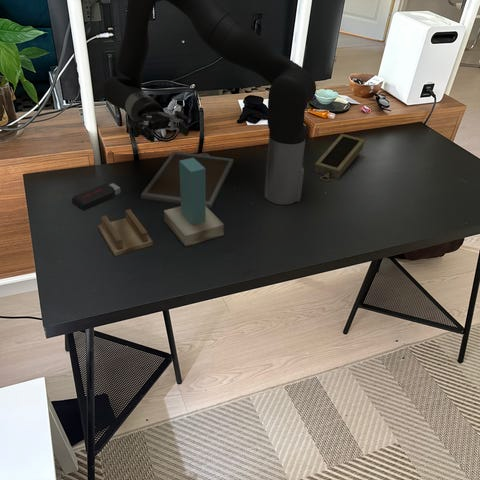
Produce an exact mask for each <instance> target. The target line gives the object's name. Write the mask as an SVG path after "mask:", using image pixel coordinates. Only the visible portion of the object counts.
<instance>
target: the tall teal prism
mask: <svg viewBox="0 0 480 480" xmlns="http://www.w3.org/2000/svg"><path fill="white" fill-rule="evenodd" d="M179 167H180V193H181V204H180V206H181V213H182V215H183V216H184V217H185V218H186V219H187V220H188V221H189V222H190V224H191V225H192V226H193V225H196V224H200V223H203V222H206V181H205V168H204V167H203V166H202V165H201V164H200V163H199V162H198V161H196V160H195V159H194V158H189V159H185V160H180V161H179Z"/></svg>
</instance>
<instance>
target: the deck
mask: <svg viewBox="0 0 480 480" xmlns="http://www.w3.org/2000/svg"><path fill="white" fill-rule="evenodd" d="M163 216H164V217H163V219H164V220H163V221H164V222H165V223H166V225H167V226H168V227H169V229H170V230H171V231H172V232H173V233H174V235H176V237H177V238H178V239H179V240H180V242H181V243H182V244H183V246H184V247H188V246H192V245H196V244H198V243H202V242H206V241H207V240H208V241H209V240H212V239H215V238H218V237H221V236H224V233H225V224H224V223H223V222H222V220H220V219H219V218H218V217H217V215H215V214H214V213H213V212H212V211H211V210H210V208H207V207H206V222H203V223H200V224H196V225H193V226H192V225H191V224H190V222H189V221H188V220H187V219H186V218H185V217H184V216H183V215H182V213H181V205H180V206H176V207H172V208H168V209H165V210H163Z"/></svg>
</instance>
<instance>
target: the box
mask: <svg viewBox="0 0 480 480" xmlns="http://www.w3.org/2000/svg"><path fill="white" fill-rule="evenodd" d="M364 143H365V139H363V138H360V137H356V136H355V137H354V136H352V135H347V134H344V133H340V135H339V136H338V137H337V138H336V140H335V141H333V143H332V144H331V145H330V146H329V147H328V148H327V149H326V151H325V152H324V153H323V154H322V155H321V157H319V159H318V160H317V161H316V162H315V163H314V166H315V167H314V168H315V169H314V170H315V172H314V173H317V174H321V175H322V176H320V177H319V179H320V181H321V182H324V183H329V181H330V179H331V178H332V179H333V178H334V179H337V180H339V179H340V178H341V176H342V175H343V173H344V172H345V171H346V170H347V169H348V167H350V165H351V163H353V161H354V160H355V159H356V158H357V156H359V154H360V152H361V151H362V150H363V148H364V145H365V144H364Z"/></svg>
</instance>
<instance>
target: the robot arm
mask: <svg viewBox="0 0 480 480" xmlns="http://www.w3.org/2000/svg"><path fill="white" fill-rule="evenodd" d="M162 1H165V2H168V3H169V4H171V5H173V6H174V7H175V8H177V9H178V10H179V11H181V12H182V13H183V14H184V15H186V17H187V18H188V19H189V21H190V22H191V24H192V26H193V28H194V30H195V31H196V34H197V35H198V37H199V38H200V40H202V42H203V43H204V44H205V45H206V46H207V47H208V48H210V49H211V50H212V51H213V52H214V53H215V54H217V55H219V56H220V57H221V59H224V60H225V61H227V62H228V63H231V64H233V65H236V66H238V67H241V68H244V69H246V70H248V71H250V72H253V73H255V74H257V75H258V76H260V77H262V78H263V79H264V80H266V81H267V82H268V83H269V84H270V87H269V91H268V95H267V97H268V99H267V120H266V121H267V127H268V130H269V133H268V146H267V156H266V157H267V158H266V159H267V160H266V172H265V182H264V183H265V184H264V198H265V199H266V200H267V201H268V202H270V203H271V204H275V205H281V206H282V205H284V206H285V205H292V204H294V203H297V202H301V197H302V191H303V189H302V188H303V182H304V174H305V167H304V166H303V163H304V156H305V149H306V141H307V133H308V130H307V128H308V127H307V126H306V125H305V124H304V123H305V115H306V114H305V113H306V106H307V105H308V104H310V102H311V101H312V100H313V99H314V97H315V96H316V94H317V93H316V92H317V84H316V81H315V78H314V76H313V75H312V74H311V73H310V72H309V71H308V70H307V69H305V68H304V67H303V66H301V65H299V64H298V63H296V62H295V61H293V60H291V59H290V58H288V57H287V56H285V55H284V54H282V53H281V52H279V51H278V50H277V49H275V48H274V47H272V46H271V45H270V44H269V43H268V42H267V41H266V40H264V39H263V38H262V37H260V35H259V34H258V33H256V32H255V31H254V30H252V28H250V27H249V26H248V25H247V24H246V23H244V22H243V21H242V20H241V19H239V18H238V17H237V16H236V15H234V14H233V13H231V12H230V10H228V9H227V8H225V7H224V6H222V4H220V3H219V2H217V0H127V8H126V17H125V18H126V19H125V25H124V32H123V36H122V40H121V44H120V48H119V51H118V55H117V59H116V65H115V66H116V69H117V71H118V72H119V73H120V74H121V75H123V76H125V77H121V76H109V77H108V78H107V77H106V79H105V80H104V82H103V84H102V95H103V96H104V99H105V100H106V101H107V102H108V103H109V104H111V105H113V106H115V107H117V108H119V109H122V110H124V111H125V112H126V113H127V115H128V116H129V117H128V118H127V119H126V122H127V130H128V131H129V132H130V134H131V135H132V137H134V138H139V137H140V136H141V137H143V138H145V139H146V140H147V141H149V142H151V143H155V142H156V140H155V136H156V135H155V133H154V131H159V130H168V131H171V132H172V131H174V130H176V131H179V132H180V133H181V134H182V135H183V136H184V137H186V136H188V137H189V134H190V129H189V128H190V126H189V124H190V123H189V120H190V118H189V117H188V116H186V115H185V114H184V113H182V112H181V111H179V110H175V111H174V114H170V113H167V112H166V111H165V110H164V108H163V106H162V105H160V103H158V102H157V100H155V99H153V98H152V97H151V96H149V94H146V93H145V92H144V91H143V90H142V89H143V87H142V85H143V84H142V83H143V81H142V79H143V70H144V67H145V64H146V60H147V57H148V54H149V48H150V37H149V22H150V18H151V15H152V12H153V10H154V8H155V6H156V4H157V3H158V2H162ZM176 124H177V125H176Z"/></svg>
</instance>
